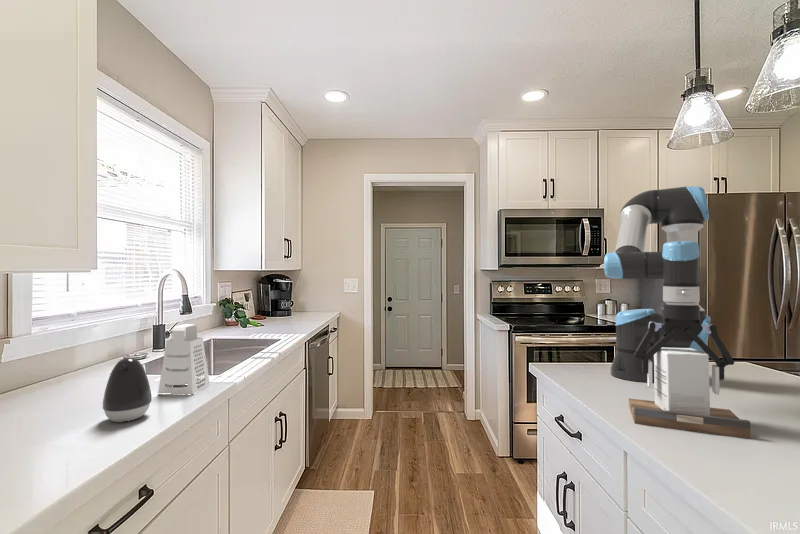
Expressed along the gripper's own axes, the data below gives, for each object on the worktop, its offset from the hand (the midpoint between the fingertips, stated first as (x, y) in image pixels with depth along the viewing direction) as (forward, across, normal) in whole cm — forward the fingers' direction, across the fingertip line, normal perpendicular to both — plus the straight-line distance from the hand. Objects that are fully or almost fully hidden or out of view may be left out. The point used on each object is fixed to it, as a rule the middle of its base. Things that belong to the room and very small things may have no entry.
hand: (681, 389), depth 101 cm
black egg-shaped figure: (+7, -126, -56) cm, 138 cm away
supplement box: (+5, 0, 0) cm, 5 cm away
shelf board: (+7, 0, -1) cm, 7 cm away
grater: (+8, -135, -33) cm, 139 cm away
